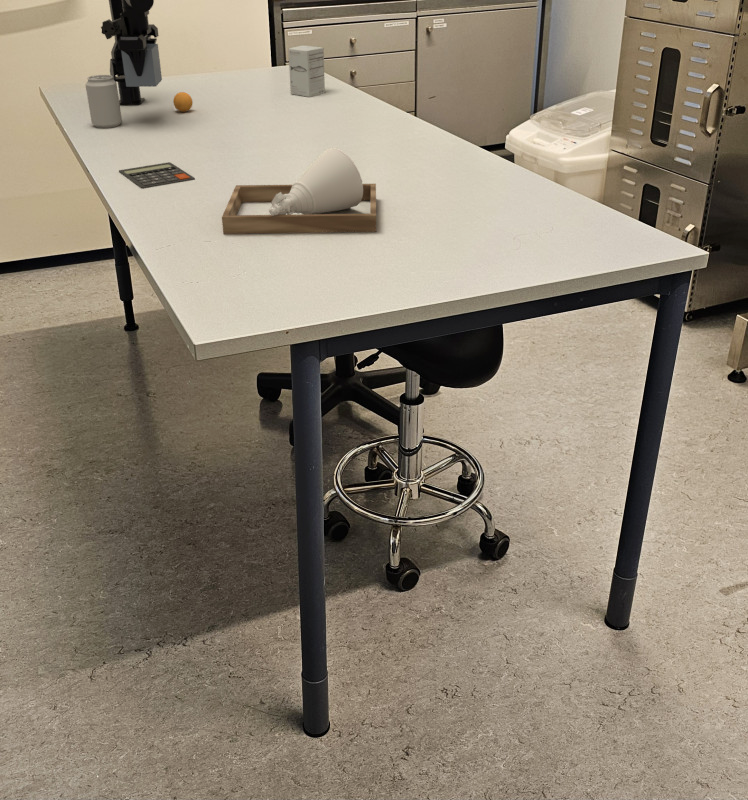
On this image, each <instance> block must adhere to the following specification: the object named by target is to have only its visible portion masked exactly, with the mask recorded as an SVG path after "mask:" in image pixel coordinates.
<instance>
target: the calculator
mask: <svg viewBox="0 0 748 800" xmlns="http://www.w3.org/2000/svg"><path fill="white" fill-rule="evenodd" d="M118 173H119V174H120V175H122V176H124V177H125V178H126V179H127V180H129V181H131V182H132V183H133V184H134V185H136V186H137V187H138V188H140V189H149V188H154V187H160V186H167V185H171V184H177V183H183V182H190V181H194V180H196V178H195V177H194V176H193V175H191V174H190V173H188V172H186V171H185V170H183V169H181V168H180V167H178V166H177V165H175V164H174V163H172V162H163V163H157V164H156V163H155V164H150V165H143V166H138V167H130V168H126V169H119V170H118Z"/></svg>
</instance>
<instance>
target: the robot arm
mask: <svg viewBox="0 0 748 800" xmlns="http://www.w3.org/2000/svg"><path fill="white" fill-rule="evenodd" d="M154 1H155V0H108V3H109V11H110V17H111V19H110V18H109V19H107V20H104V21H102V22H101V23H102V25H101V26H100V28H101V34H102V35H104V36H105V38H106V40H111V39H112V37H114V43H113V46H112V47H111V51H110V55H111V58H110V60H109V75H111V76H113V80H114V81H115V82H116V83H117V89H118V96H119V104H120V106H122V105H123V106H124V105H129V106H130V105H141V104H142V103H143V102H144V101H145V100H146V99H145V97H142V95H141V88H140V87H126V81H125V74H124V67H123V60H122V52H121V51H123V52H125V53H126V54H127V55H129V57H130V59H131V62H132V64H133V67H134V69H135V72H136V74H137V76H142V73H143V68H144V63H145V58H146V53H147V47H146V44H157V40H158V39H157V38H158V37H159V36H160V35H159V28H158V27H157V26H156V25H155V24H151V23H150V24H149V17H148V16H149V15H150V11H151V9H152V8H153V6H154V4H155V3H154Z"/></svg>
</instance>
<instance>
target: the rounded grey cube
mask: <svg viewBox="0 0 748 800" xmlns="http://www.w3.org/2000/svg"><path fill="white" fill-rule="evenodd" d="M146 47H147V53H146V58H145V63H144V68H143V73H142V76H137V74H136V72H135V69H134V67H133V64H132V62H131V59H130V57H129V55H127V54H126V53H125V52H123V51H121V52H122V60H123V67H124V74H125V81H126V87H141V88H142V87H143V88H144V87H146V88H147V87H148V88H150V87H151V88H153V87H158V86H159V84H160V83H161V82H162V80H163V77H162V76H163V75H162V70H161V69H162V67H161V60H160V51H159V44H158V43H156V44H146Z"/></svg>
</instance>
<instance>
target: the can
mask: <svg viewBox="0 0 748 800" xmlns="http://www.w3.org/2000/svg"><path fill="white" fill-rule="evenodd" d="M86 79H87V82H86V83H85V91H86V96H87V104H88V108H89V115H90V120H91V124H92V125H93V126H95V127H96V128H97V129H99V128H100V129H109V128H115V127H118V126H119V125H120V124H121V123H122V122H123V118H122V112H121V111H122V110H121V105H120V104H119V100H120V96H119V89H118V82H115V81H114V80H113V76H111V75H110V74H95V75H90V76H87V78H86Z"/></svg>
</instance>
